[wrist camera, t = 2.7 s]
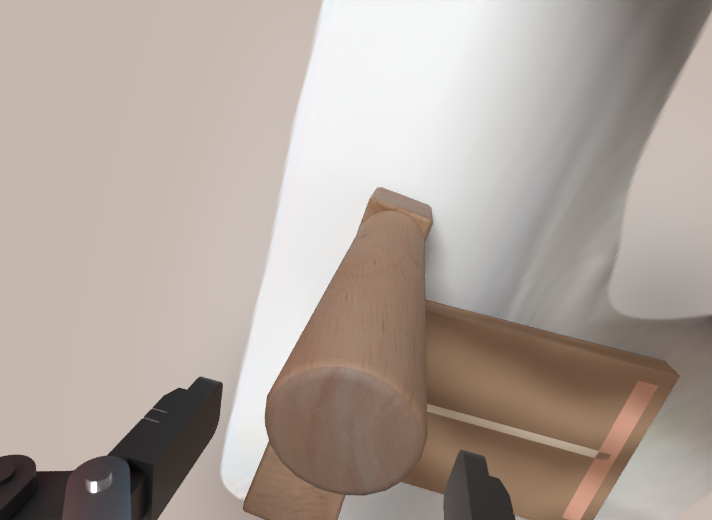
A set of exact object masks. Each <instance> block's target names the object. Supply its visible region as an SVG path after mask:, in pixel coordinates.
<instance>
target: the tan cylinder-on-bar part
mask: <svg viewBox="0 0 712 520" xmlns="http://www.w3.org/2000/svg"><path fill="white" fill-rule="evenodd" d="M432 224H433V219H432V210H431V207H430V206H429V205H427V204H424V203H421V202H419V201H416V200H413V199H411V198H408V197H406V196H403V195H400V194H398V193H395V192H392V191H390V190H387V189H384V188H382V187H380V188H377V189H376V190H375V192H374V193H373V195H372V196H371V198H370V199H369V202H368V205H367V207H366V210H365V213H364V215H363V218H362V221H361V224H360V226H359V229H358V232H357V235H356V237H355V239H354V240H353V242H352V244H351V246H350V248H349V249H348V251H347V253H346V255H345V257H344V258H343V260H342V262H341V264H340V266H339V267H338V269H337V271H336V273H335V275H334V276H333V278H332V280H331V282H330V284H329V285H328V287H327V289H326V291H325V293H324V294H323V296H322V298H321V300H320V302H319V303H318V305H317V307H316V309H315V311H314V313H313V314H312V316H311V318H310V320H309V322H308V323H307V325H306V327H305V329H304V331H303V332H302V334H301V336H300V338H299V340H298V341H297V343H296V345H295V347H294V349H293V350H292V352H291V354H290V356H289V358H288V359H287V361H286V363H285V365H284V367H283V368H282V370H281V372H280V374H279V376H278V377H277V379H276V381H275V383H274V385H273V386H272V388H271V390H270V392H269V394H268V395H267V402H266V410H265V426H266V430H267V434H268V438H269V442H268V445H267V447H266V449H265V452H264V454H263V457H262V459H261V462H260V464H259V466H258V469H257V471H256V474H255V476H254V479H253V481H252V483H251V486H250V488H249V491H248V493H247V496H246V498H245V500H244V506H243V510H244V511H245V512H248V513H250V514H253V515H255V516H258V517H260V518H262V519H265V520H337V519H338V516H339V513H340V510H341V507H342V504H343V501H344V498H345V495H368V494H372V493H376V492H381V491H385V490H387V489H389V488H391V487H392V486H394V485H396V484H398V483H399V482H401V481H403V480H404V479H405V478H406V477H407V475H408V474H409V473H410V472H411V471H412V469H413V468H414V467H415V466H416V465H417V463H418V462H419V460H420V458H421V457H422V453H423V450H424V447H425V444H426V440H427V437H428V435H427V379H426V323H425V268H424V242H425V240H426V238H427V235H428V233H429V231H430V229H431V226H432Z"/></svg>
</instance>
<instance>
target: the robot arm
mask: <svg viewBox="0 0 712 520" xmlns="http://www.w3.org/2000/svg"><path fill="white" fill-rule="evenodd" d="M222 389H223V384H222V383H221V382H219V381H215V380H212V379H208V378H204V377H199V378H198V379H196V380H195V382H194V383H193V384H192V385H191V386H190V387H189V388H188V390H186V389H182V388H178V389H176V390H174V391H172V392H170V393H168V394H166V395H164V396H163V397H162V398H161V399H160V400H159V401H158V403H156V405H155V406H154V407H153V409H151V410H150V411H149V412H148V413H147V414H146V415H145V416H144V418H143V419H141V420H140V422H138V424H137V425H136V426H135V427H134V428H133V429H132V430H131V431H130V432H129V433H128V434H127V435H126V436H125V437H124V438H123V439H122V440H121V441H120V442H119V444H118V445H117V446H116V447H115V448H114V449H113V450H112V451H111V452H110V453H109V454H108V455H107V456H101V457H97V458H93V459H91V460H88V461H86V462H84V463H83V464H81V465H80V466H79V467H77V468H76V469H75V470H73V471H39V472H38V471H36V465H35V462H34V461H33V460H32V459H31V458H29V457H27V456H24V455H8V456H2V457H0V520H157V519H158V518H159V516H160V515H161V513H162V512H163V510H164V509H165V507H166V506H167V504H168V503H169V501H170V500H171V498H172V497H173V495H174V494H175V492H176V490H177V489H178V488H179V486H180V485H181V483H182V482H183V480H184V479H185V477H186V476H187V474H188V473H189V471H190V470H191V468H192V467H193V465H194V464H195V462H196V461H197V459H198V458H199V456H200V455H201V453H202V452H203V450H204V449H205V448H206V446H207V445H208V443H209V441H210V440H211V438H212V437H213V435H214V433H215V431H216V428H217V425H218V422H219V416H220V407H221V398H222ZM444 520H515V516H514V514H513V507H512V503H511V499H510V495H509V493H508V491H507V490H506V488H505V487H504V485H503V483H502V482H501V480H500V479H499V478H496V477H492V476H489V472H488V467H487V462H486V458H485V456H483V455H479V454H475V453H472V452H468V451H464V450H460V451H459V453H458V455H457V458H456V460H455V463H454V466H453V468H452V471H451V474H450V476H449V479H448V482H447V484H446V488H445V493H444Z"/></svg>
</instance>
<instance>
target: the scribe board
mask: <svg viewBox="0 0 712 520" xmlns="http://www.w3.org/2000/svg"><path fill="white" fill-rule="evenodd" d="M425 323H426V379H427V435H428V437H427V440H426V444H425V447H424V450H423V453H422V457H421V458H420V460H419V462H418V463H417V465H416V466H415V467H414V468H413V469H412V471H411V472H410V473H409V474H408V475H407V477H406V478H405V479H404V480H403V481H401V482H404V483H407V484H411V485H414V486H418V487H421V488H424V489H428V490H431V491H435V492H438V493H442V494H444V493H445V488H446V484H447V482H448V479H449V476H450V474H451V471H452V468H453V466H454V463H455V460H456V458H457V455H458V453H459V451H460V450H464V451H468V452H472V453H475V454H479V455H483V456H485V458H486V462H487V467H488V472H489V476H492V477H496V478H499V479H500V480H501V482H502V483H503V485H504V487H505V488H506V490H507V491H508V493H509V495H510V499H511V503H512V507H513V514H514V515H517V516H520V517H524V518H527V519H531V520H594V518H595V516H596V515H597V513H598V511H599V510H600V508H601V506H602V505H603V503H604V501H605V500H606V498H607V496H608V495H609V493H610V491H611V490H612V488H613V486H614V485H615V483H616V481H617V480H618V478H619V476H620V475H621V473H622V471H623V470H624V468H625V466H626V465H627V463H628V461H629V460H630V458H631V456H632V455H633V453H634V451H635V450H636V448H637V446H638V445H639V443H640V441H641V440H642V438H643V436H644V435H645V433H646V432H647V430H648V428H649V427H650V425H651V423H652V422H653V420H654V418H655V417H656V415H657V413H658V412H659V410H660V408H661V407H662V405H663V403H664V402H665V400H666V398H667V397H668V395H669V393H670V392H671V390H672V388H673V387H674V385H675V383H676V382H677V380H678V378H679V377H680V376H679V375H678V374H677V373H676V372H675V371H674V370H673V369H672V368H671V367H670V366H669V365H668V364H667V363H666V362H665V361H661V360H657V359H653V358H649V357H645V356H641V355H637V354H633V353H630V352H626V351H622V350H618V349H614V348H610V347H606V346H602V345H599V344H595V343H591V342H587V341H583V340H579V339H575V338H571V337H568V336H564V335H560V334H556V333H552V332H548V331H544V330H540V329H536V328H533V327H529V326H525V325H521V324H517V323H513V322H509V321H505V320H502V319H498V318H494V317H490V316H486V315H482V314H478V313H474V312H471V311H467V310H463V309H459V308H455V307H451V306H447V305H443V304H440V303H436V302H432V301H428V300H425Z"/></svg>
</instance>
